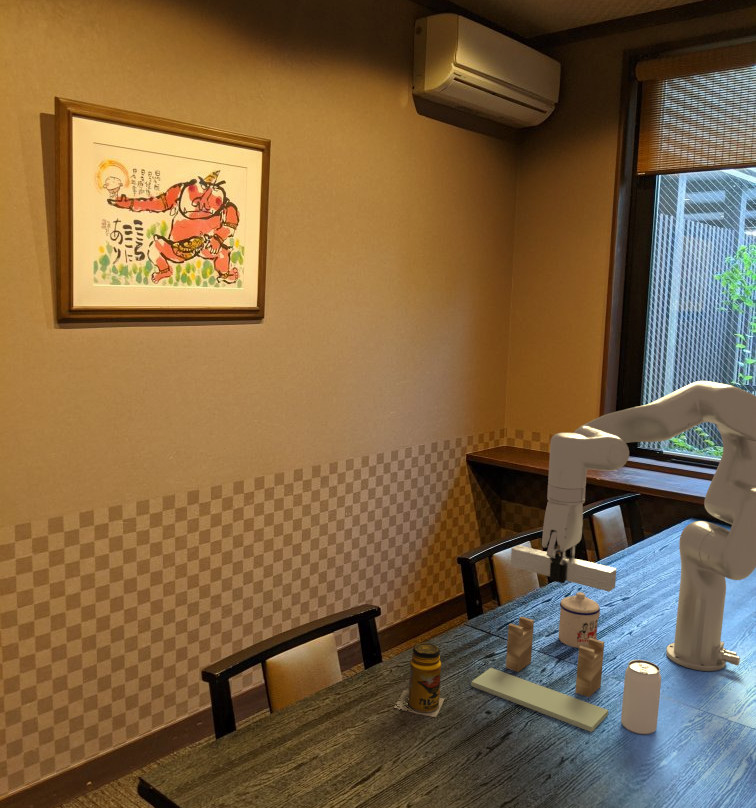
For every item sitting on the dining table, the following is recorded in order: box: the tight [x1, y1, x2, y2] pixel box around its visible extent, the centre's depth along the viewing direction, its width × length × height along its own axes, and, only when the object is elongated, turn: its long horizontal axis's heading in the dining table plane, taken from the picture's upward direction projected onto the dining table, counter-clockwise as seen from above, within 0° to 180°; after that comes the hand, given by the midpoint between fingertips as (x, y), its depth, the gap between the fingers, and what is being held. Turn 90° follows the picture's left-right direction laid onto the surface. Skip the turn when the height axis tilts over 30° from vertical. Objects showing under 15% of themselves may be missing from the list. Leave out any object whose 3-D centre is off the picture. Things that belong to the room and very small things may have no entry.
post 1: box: [505, 616, 535, 673], centre depth 173 cm, size 3×6×10 cm, turn 143°
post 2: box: [574, 638, 605, 698], centre depth 163 cm, size 3×6×10 cm, turn 143°
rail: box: [510, 544, 617, 593], centre depth 165 cm, size 22×3×4 cm, turn 53°
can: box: [620, 659, 662, 736], centre depth 150 cm, size 6×6×12 cm
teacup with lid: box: [558, 591, 601, 649], centre depth 187 cm, size 12×9×12 cm
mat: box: [470, 667, 609, 733], centre depth 159 cm, size 26×8×1 cm, turn 53°
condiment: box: [393, 642, 446, 718], centre depth 155 cm, size 7×8×12 cm
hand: (561, 578), depth 166 cm, fingers closed on rail, 3 cm apart
